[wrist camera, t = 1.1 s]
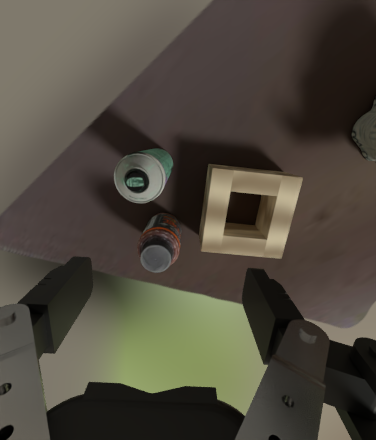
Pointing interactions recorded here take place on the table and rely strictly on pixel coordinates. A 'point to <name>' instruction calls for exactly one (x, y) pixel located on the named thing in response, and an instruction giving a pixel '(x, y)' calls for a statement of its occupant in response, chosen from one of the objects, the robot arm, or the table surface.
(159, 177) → the spray can
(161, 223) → the supplement bottle
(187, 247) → the table surface
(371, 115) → the grey animal cookie jar
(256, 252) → the tube block
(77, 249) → the table surface
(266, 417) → the robot arm
